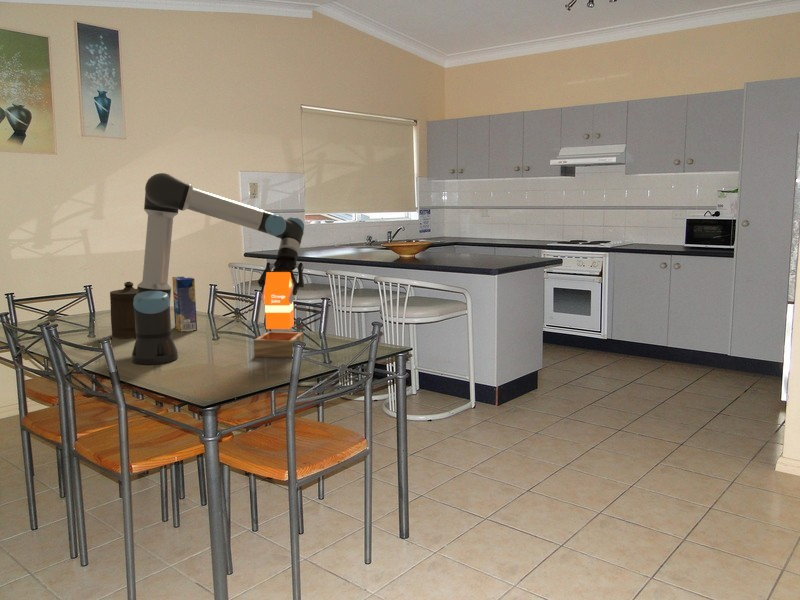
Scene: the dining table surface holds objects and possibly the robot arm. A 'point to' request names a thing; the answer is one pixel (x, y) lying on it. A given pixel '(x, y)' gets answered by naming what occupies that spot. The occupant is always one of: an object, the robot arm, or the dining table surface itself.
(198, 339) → the dining table surface
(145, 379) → the dining table surface
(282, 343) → the box
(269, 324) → the orange juice
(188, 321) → the beverage box
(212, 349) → the dining table surface
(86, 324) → the dining table surface
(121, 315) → the wooden container
